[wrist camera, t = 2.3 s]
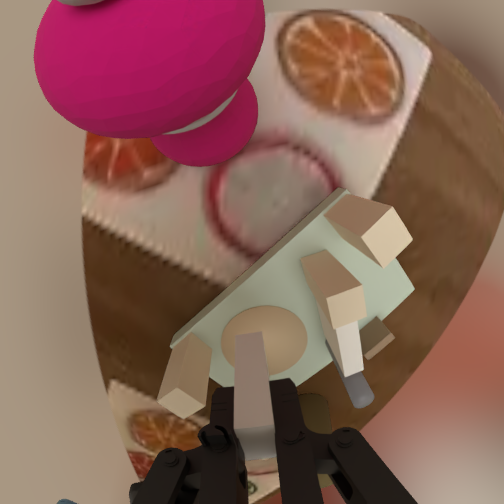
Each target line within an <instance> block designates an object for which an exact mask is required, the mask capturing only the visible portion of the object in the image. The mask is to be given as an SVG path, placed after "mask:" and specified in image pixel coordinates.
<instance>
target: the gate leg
mask: <svg viewBox="0 0 504 504" xmlns="http://www.w3.org/2000/svg"><path fill="white" fill-rule="evenodd" d="M300 260H301V264H302V267H303V271H304V274H305V278H306V282H307V284H308V286H309V288H310V289H311V291H312V293H313V295H314V296H315V299H316V303H317V307H318V312H319V316H320V320H321V324H322V328H323V332H324V335H325V337H326V339H327V341H328V343H329V346H330V348H331V350H332V352H333V354H334V356H335V358H336V360H337V362H338V364H339V366H340V368H341V370H342V373H343V375H344V377H347V376H350V375H352V374H355V373H357V372H360V371H362V370H364V368H363V359H362V350H361V342H360V335H359V328H358V321H357V320H360V319H362V318H365V317H367V312H366V305H365V298H364V291H363V285H362V284H361V283H360V282H359V281H358V280H357V279H356V278H355V277H354V276H353V275H352V274H351V273H350V272H349V271H348V270H347V269H346V268H345V267H344V266H343V265H342V264H341V263H340V262H339V261H338V260H337V259H336V258H335V257H334V256H333V255H332V254H331V253H330V252H328V251H327V250H324V251H321V252H318V253H315V254H312V255H309V256H306V257H303V258H300Z"/></svg>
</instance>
